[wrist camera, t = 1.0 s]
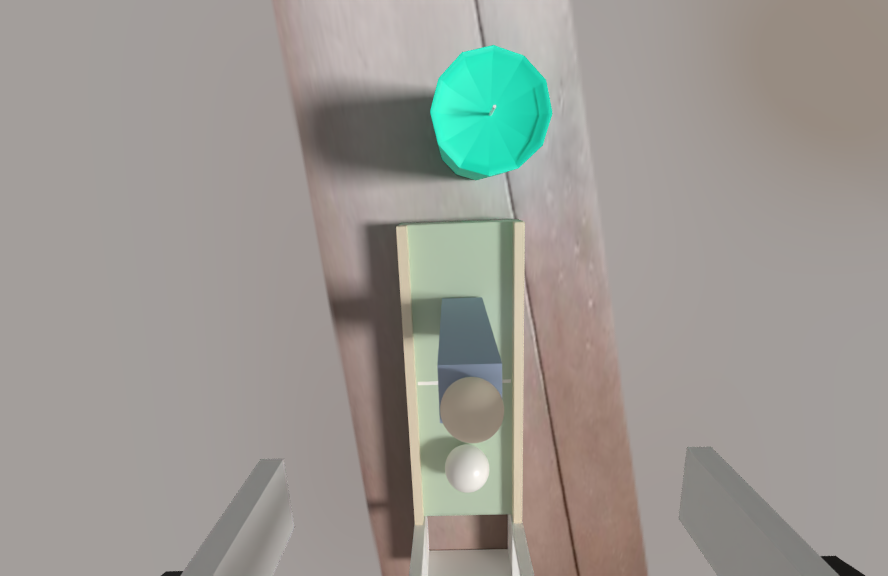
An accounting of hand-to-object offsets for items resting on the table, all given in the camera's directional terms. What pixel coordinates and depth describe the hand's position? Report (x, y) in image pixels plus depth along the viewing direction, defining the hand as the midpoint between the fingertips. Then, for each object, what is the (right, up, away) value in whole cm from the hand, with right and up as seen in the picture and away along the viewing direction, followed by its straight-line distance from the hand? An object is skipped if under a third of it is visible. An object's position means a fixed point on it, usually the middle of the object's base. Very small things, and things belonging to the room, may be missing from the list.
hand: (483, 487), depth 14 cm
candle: (+1, +18, +17) cm, 25 cm away
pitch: (0, 0, +21) cm, 21 cm away
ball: (+1, -8, +19) cm, 20 cm away
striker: (0, +4, +18) cm, 18 cm away
